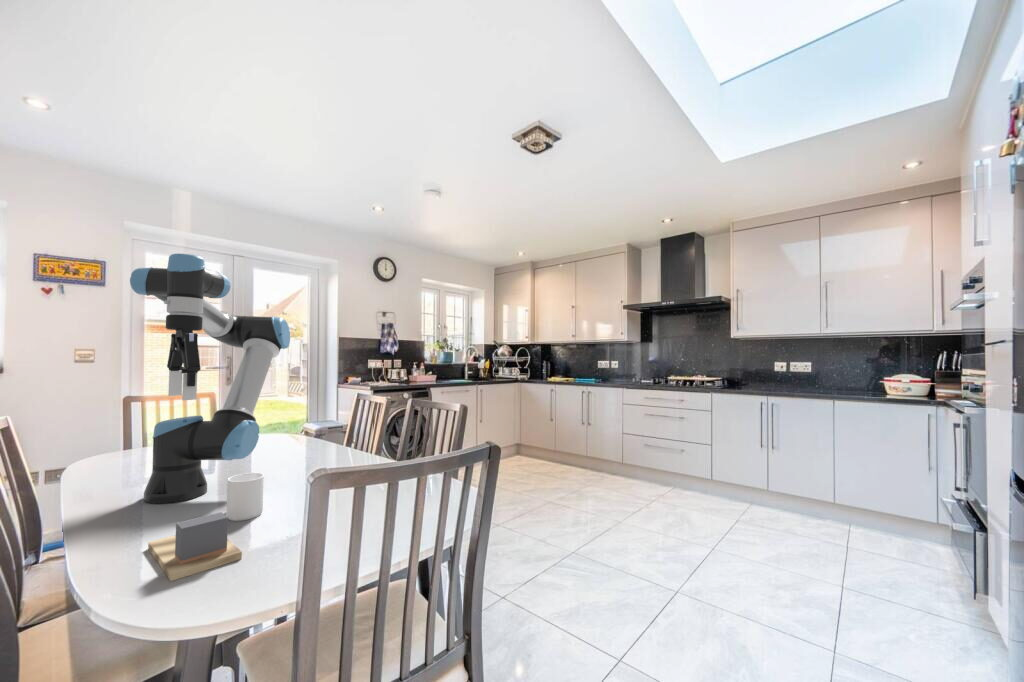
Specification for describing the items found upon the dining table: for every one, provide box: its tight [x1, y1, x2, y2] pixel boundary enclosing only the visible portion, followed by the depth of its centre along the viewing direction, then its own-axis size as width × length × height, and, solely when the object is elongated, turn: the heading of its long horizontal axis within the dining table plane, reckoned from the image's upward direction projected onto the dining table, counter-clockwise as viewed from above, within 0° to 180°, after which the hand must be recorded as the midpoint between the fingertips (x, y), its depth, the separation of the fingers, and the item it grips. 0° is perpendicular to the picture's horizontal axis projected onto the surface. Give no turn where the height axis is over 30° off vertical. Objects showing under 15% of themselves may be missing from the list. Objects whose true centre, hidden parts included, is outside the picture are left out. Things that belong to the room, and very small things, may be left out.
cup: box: [226, 472, 265, 522], centre depth 116 cm, size 8×12×10 cm
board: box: [147, 534, 243, 582], centre depth 93 cm, size 20×12×2 cm, turn 50°
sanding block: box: [175, 512, 229, 564], centre depth 90 cm, size 4×8×7 cm, turn 139°
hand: (181, 397), depth 110 cm, fingers open, 13 cm apart
